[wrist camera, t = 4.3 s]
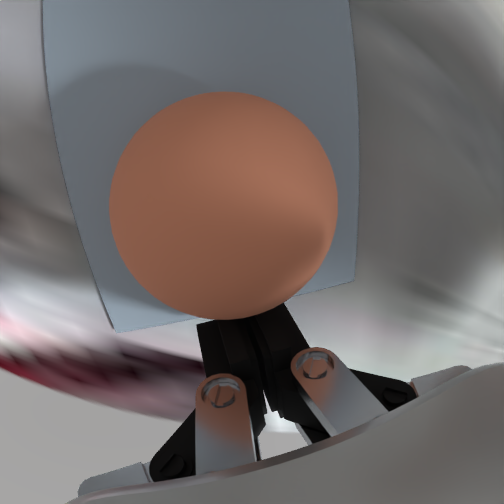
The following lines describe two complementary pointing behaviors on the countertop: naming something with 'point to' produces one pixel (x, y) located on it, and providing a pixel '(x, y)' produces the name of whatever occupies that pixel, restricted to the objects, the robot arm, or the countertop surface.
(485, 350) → the countertop surface
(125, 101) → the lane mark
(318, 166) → the ball
